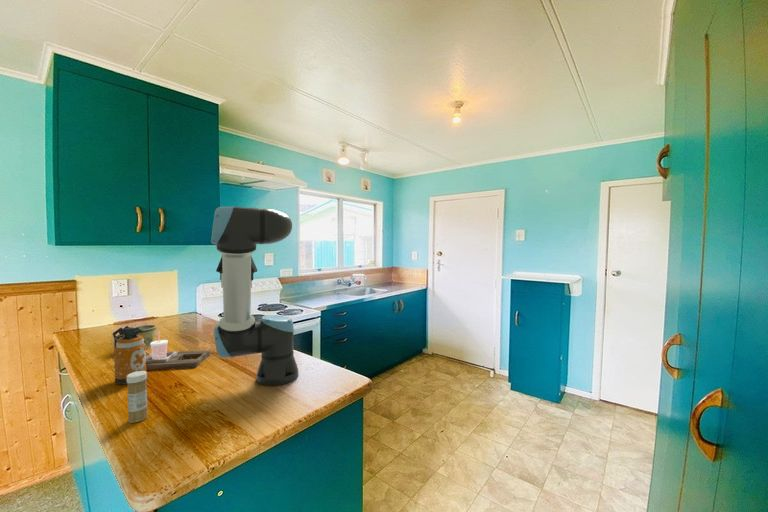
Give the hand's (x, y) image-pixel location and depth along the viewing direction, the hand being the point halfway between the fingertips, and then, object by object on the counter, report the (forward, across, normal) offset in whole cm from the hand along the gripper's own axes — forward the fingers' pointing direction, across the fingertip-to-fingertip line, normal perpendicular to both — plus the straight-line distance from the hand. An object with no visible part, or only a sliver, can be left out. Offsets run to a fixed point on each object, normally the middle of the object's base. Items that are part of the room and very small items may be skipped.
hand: (236, 287), depth 140 cm
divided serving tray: (+31, +20, +14) cm, 39 cm away
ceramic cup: (+30, +51, +2) cm, 59 cm away
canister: (+32, +20, +32) cm, 50 cm away
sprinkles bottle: (+33, -9, +51) cm, 61 cm away
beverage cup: (+31, +25, +16) cm, 43 cm away
